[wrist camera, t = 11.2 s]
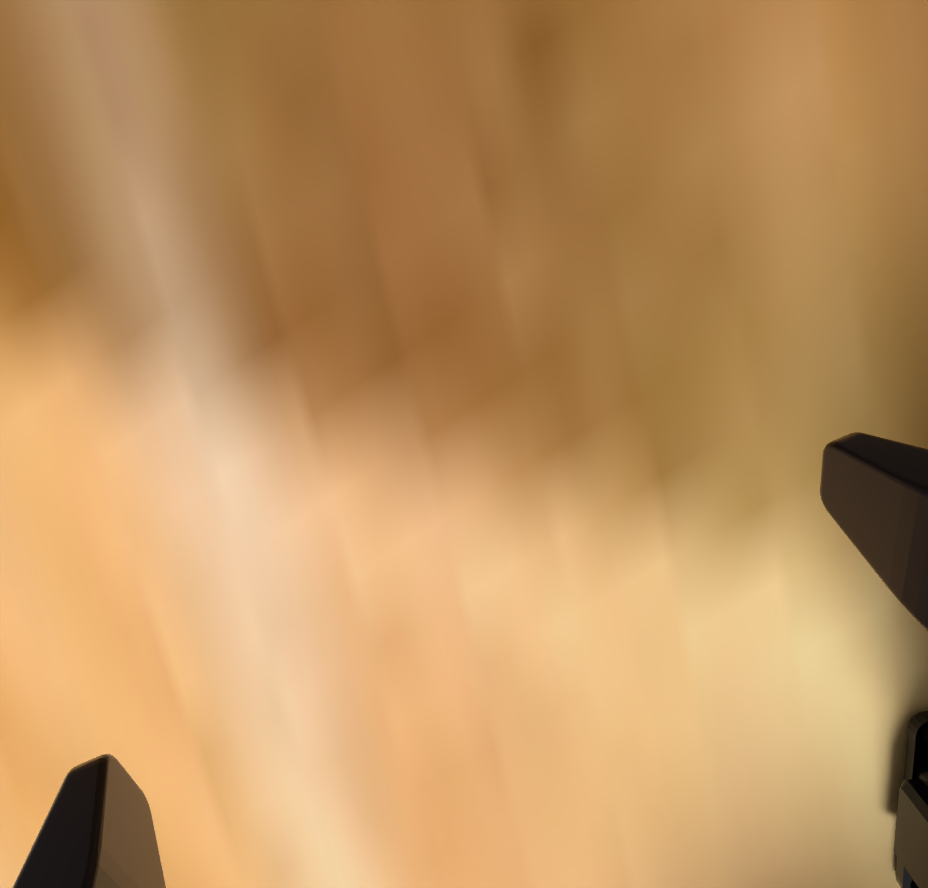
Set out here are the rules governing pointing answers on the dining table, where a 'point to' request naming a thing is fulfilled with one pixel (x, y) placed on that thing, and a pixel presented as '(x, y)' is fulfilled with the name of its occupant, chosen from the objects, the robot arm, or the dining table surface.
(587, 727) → the dining table surface
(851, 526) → the robot arm
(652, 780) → the dining table surface
